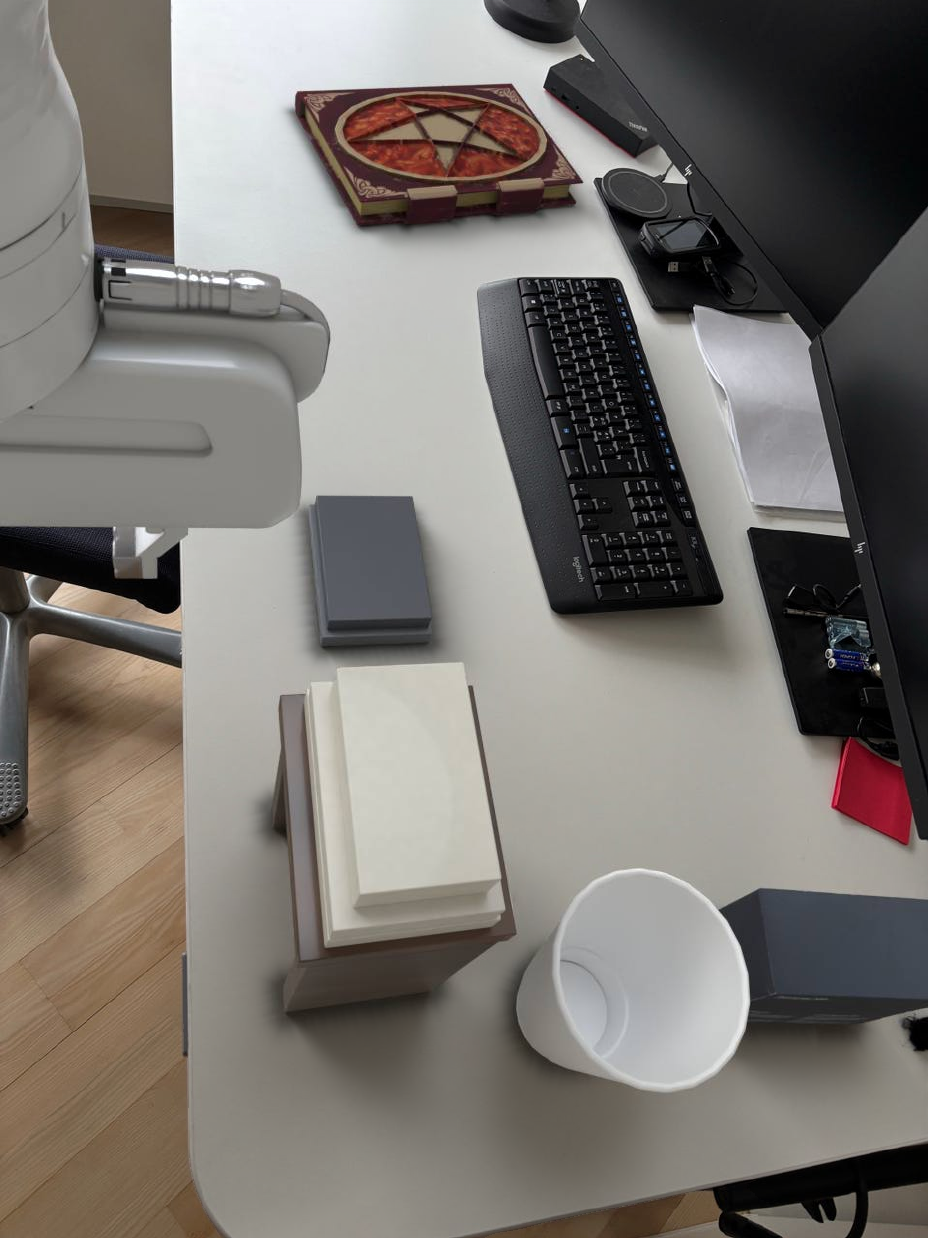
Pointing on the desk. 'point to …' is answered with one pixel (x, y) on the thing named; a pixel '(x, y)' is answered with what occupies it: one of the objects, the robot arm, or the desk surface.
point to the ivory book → (412, 784)
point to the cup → (638, 984)
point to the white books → (332, 858)
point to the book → (435, 152)
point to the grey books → (368, 571)
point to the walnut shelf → (315, 967)
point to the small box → (831, 955)
